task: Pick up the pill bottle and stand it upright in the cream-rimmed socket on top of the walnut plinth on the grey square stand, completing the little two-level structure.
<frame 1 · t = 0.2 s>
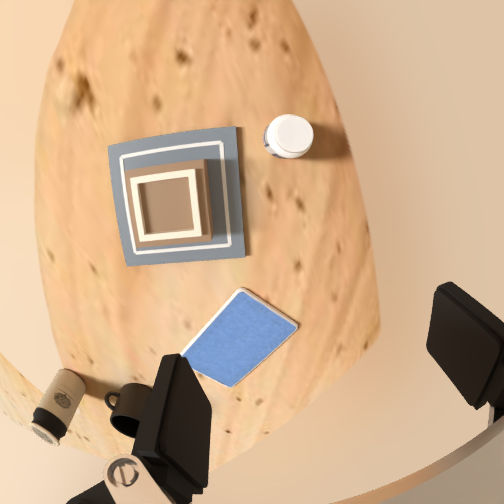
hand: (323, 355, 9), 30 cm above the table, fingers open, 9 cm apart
blue rectangular panel: (234, 341, 46), on the table
grey square stand: (175, 199, 36), on the table
mug: (136, 393, 50), on the table
pill bottle: (281, 139, 34), on the table
travel mug: (72, 379, 48), on the table
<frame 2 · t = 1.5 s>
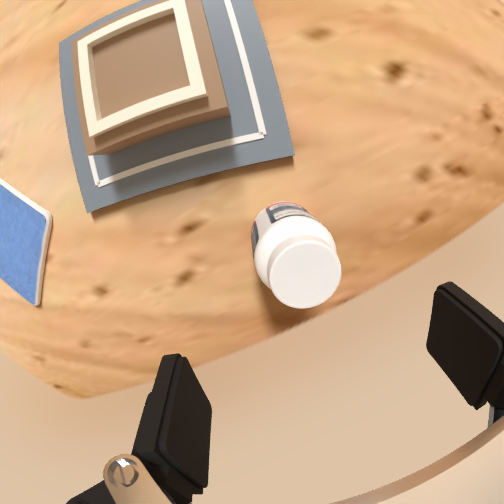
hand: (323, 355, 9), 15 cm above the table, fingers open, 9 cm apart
grey square stand: (157, 79, 18), on the table
pill bottle: (282, 231, 23), on the table
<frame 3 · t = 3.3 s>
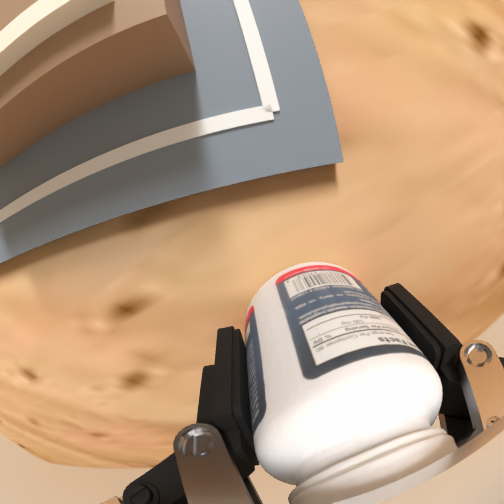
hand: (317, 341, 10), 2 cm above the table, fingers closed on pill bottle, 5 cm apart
grey square stand: (68, 29, 6), on the table
pill bottle: (306, 314, 11), on the table, touching gripper
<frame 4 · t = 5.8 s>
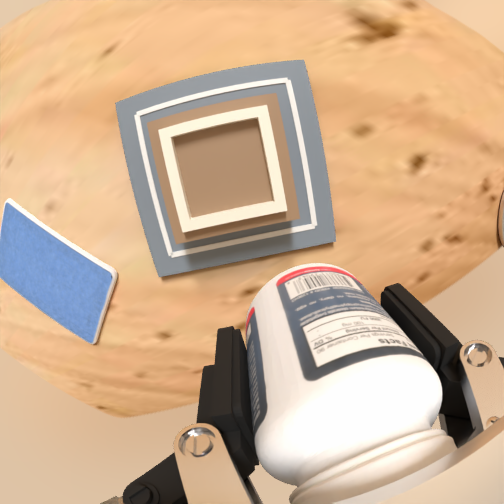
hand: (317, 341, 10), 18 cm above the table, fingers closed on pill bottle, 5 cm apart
blue rectangular panel: (48, 270, 27), on the table
grey square stand: (226, 166, 24), on the table
pill bottle: (307, 315, 11), point 16 cm above the table, touching gripper
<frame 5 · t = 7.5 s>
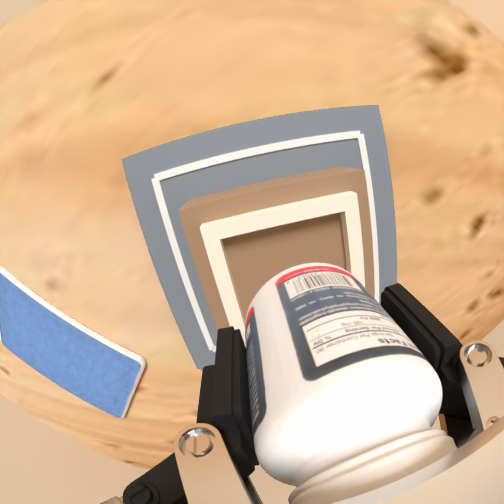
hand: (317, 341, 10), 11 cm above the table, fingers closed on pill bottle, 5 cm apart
blue rectangular panel: (60, 346, 23), on the table
grey square stand: (280, 248, 20), on the table
pill bottle: (306, 315, 11), point 9 cm above the table, touching gripper
when the fingers open (8 cm above the table, at t = 8.8 s): pill bottle drops 1 cm, resting on grey square stand.
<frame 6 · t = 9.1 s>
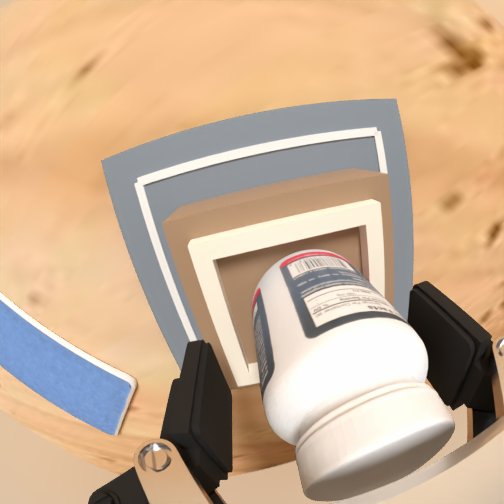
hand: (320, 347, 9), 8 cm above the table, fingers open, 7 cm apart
blue rectangular panel: (48, 362, 20), on the table
grey square stand: (284, 262, 17), on the table
pill bottle: (307, 297, 13), point 5 cm above the table, touching grey square stand
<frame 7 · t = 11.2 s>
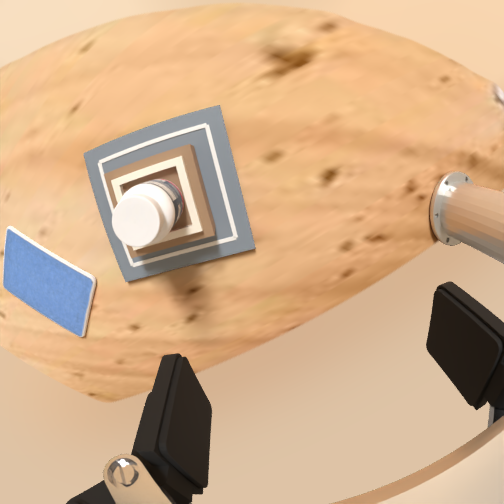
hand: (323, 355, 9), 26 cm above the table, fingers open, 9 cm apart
blue rectangular panel: (44, 280, 34), on the table
grey square stand: (166, 197, 32), on the table
pill bottle: (160, 202, 28), point 5 cm above the table, touching grey square stand
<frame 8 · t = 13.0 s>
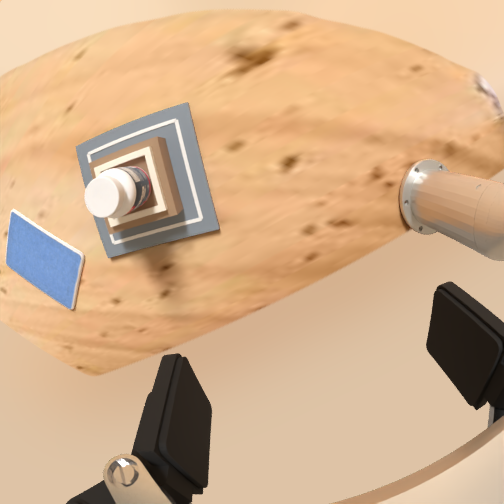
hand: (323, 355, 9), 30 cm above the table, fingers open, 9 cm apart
blue rectangular panel: (42, 257, 39), on the table
grey square stand: (142, 183, 35), on the table
pill bottle: (133, 186, 31), point 5 cm above the table, touching grey square stand
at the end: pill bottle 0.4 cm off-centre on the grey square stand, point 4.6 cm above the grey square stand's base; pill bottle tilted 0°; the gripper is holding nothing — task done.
